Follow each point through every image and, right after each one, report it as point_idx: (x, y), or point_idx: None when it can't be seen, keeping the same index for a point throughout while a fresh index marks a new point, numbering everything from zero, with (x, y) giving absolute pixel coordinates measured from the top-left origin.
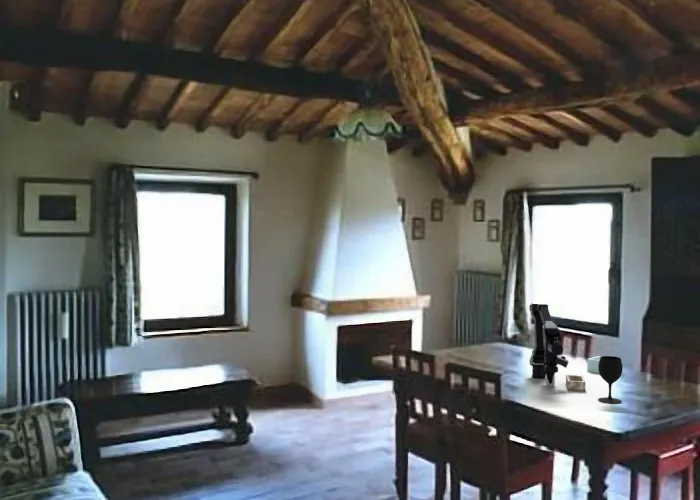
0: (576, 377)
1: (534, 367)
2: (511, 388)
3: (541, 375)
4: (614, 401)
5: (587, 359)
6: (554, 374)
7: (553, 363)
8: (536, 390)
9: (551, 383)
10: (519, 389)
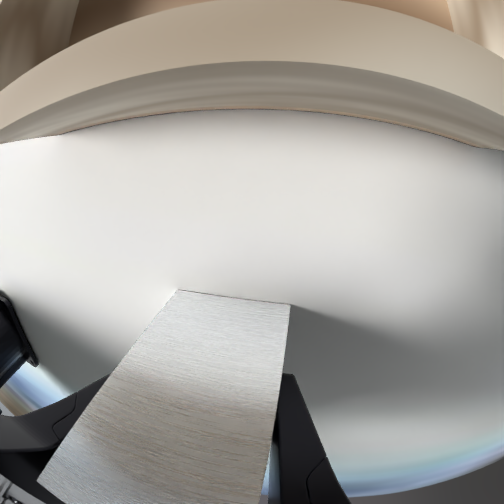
0: (20, 3)
1: None
2: (349, 491)
3: (3, 326)
4: None
5: None
6: (259, 497)
7: None
8: (425, 433)
9: (292, 377)
10: (377, 478)
